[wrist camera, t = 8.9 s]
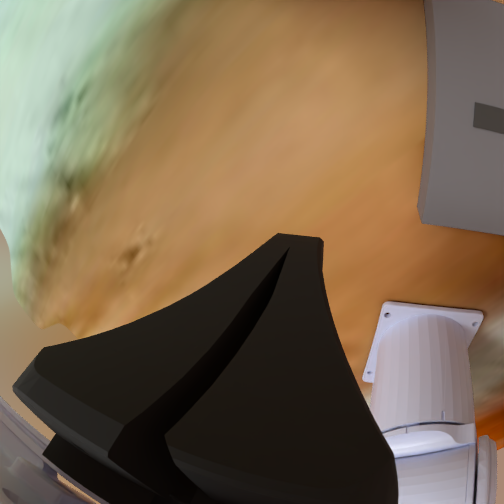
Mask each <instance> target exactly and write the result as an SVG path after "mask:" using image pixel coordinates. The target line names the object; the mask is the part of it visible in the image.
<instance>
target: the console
mask: <svg viewBox="0 0 504 504" xmlns="http://www.w3.org/2000/svg"><path fill="white" fill-rule="evenodd" d="M424 9H425V20H426V35H427V60H428V94H427V119H426V135H425V147H424V158H423V167H422V175H421V183H420V191H419V198H418V204H417V208H418V212H419V215H420V219H421V222H422V223H423V224H430V225H438V226H445V227H452V228H459V229H466V230H472V231H479V232H485V233H491V234H497V235H503V236H504V4H501V3H498V2H495V1H492V0H424Z"/></svg>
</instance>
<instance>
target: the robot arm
mask: <svg viewBox="0 0 504 504" xmlns="http://www.w3.org/2000/svg"><path fill="white" fill-rule="evenodd" d="M323 247H324V241H323V240H322V239H321V238H319V237H310V236H300V235H291V234H281V233H278V234H276V235H275V236H273V237H272V238H271V239H269V240H268V241H267V242H266V243H264V244H263V245H262V246H260V247H259V248H258V249H257V250H255V251H254V252H253V253H251V254H250V255H249V256H247V257H246V258H245V259H243V260H242V261H241V262H239V263H238V264H237V265H235V266H234V267H233V268H231V269H230V270H228V271H227V272H225V273H224V274H222V275H221V276H219V277H218V278H216V279H215V280H213V281H212V282H210V283H209V284H207V285H206V286H204V287H202V288H201V289H199V290H197V291H195V292H194V293H192V294H190V295H189V296H187V297H185V298H183V299H181V300H179V301H177V302H175V303H173V304H172V305H170V306H168V307H165V308H163V309H161V310H159V311H156V312H154V313H152V314H150V315H147V316H145V317H143V318H141V319H138V320H136V321H134V322H131V323H129V324H126V325H123V326H120V327H118V328H115V329H112V330H109V331H106V332H103V333H100V334H97V335H93V336H90V337H86V338H83V339H79V340H75V341H71V342H67V343H62V344H58V345H54V346H49V347H44V348H43V349H42V350H41V351H40V352H39V353H38V355H37V356H36V357H35V358H34V360H33V361H32V362H31V363H30V365H29V366H28V367H27V368H26V370H25V371H24V372H23V373H22V374H21V376H20V377H19V378H18V380H17V381H16V382H15V383H14V385H13V392H14V393H15V394H16V395H17V397H18V398H19V399H20V400H21V401H22V402H23V403H24V404H25V405H26V406H27V407H28V408H29V409H30V410H31V411H32V412H33V413H34V414H35V415H36V416H37V417H38V418H40V419H41V420H42V421H43V422H44V423H45V424H46V425H47V426H48V427H49V428H50V429H52V430H53V431H54V432H55V433H56V434H55V436H54V437H53V439H52V440H51V441H49V440H48V439H47V438H46V437H44V436H43V435H42V434H41V433H40V432H38V431H37V430H36V429H35V428H34V427H33V426H31V425H30V424H29V423H28V422H27V421H26V420H24V419H23V418H22V417H21V416H20V415H19V414H18V413H17V412H16V411H14V410H13V409H12V408H11V406H10V405H9V404H8V403H7V402H6V401H5V400H3V398H2V397H1V396H0V504H96V503H95V502H93V501H92V500H90V499H89V498H87V497H86V496H84V495H83V494H81V493H79V492H78V491H76V490H74V489H73V488H71V487H69V486H68V485H66V484H64V483H63V482H61V481H59V480H58V478H57V473H59V474H60V475H61V476H63V477H64V478H65V479H66V480H68V481H69V482H70V483H72V484H73V485H75V486H76V487H77V488H79V489H80V490H82V491H83V492H84V493H86V494H87V495H89V496H90V497H92V498H93V499H95V500H96V501H98V502H99V503H101V504H495V501H496V488H497V449H496V442H495V441H493V440H492V439H489V436H488V435H485V436H481V437H479V453H478V444H477V434H476V425H475V413H474V399H473V388H472V378H471V370H470V362H469V355H468V347H469V345H470V343H471V342H472V340H473V338H474V336H475V334H476V332H477V330H478V328H479V326H480V324H481V323H482V321H483V318H484V317H483V313H482V312H481V311H476V310H466V309H456V308H446V307H436V306H427V305H418V304H409V303H400V302H391V301H388V302H385V303H384V304H383V305H382V309H381V313H380V317H379V321H378V325H377V329H376V332H375V336H374V340H373V343H372V347H371V350H370V354H369V357H368V360H367V364H366V367H365V370H364V373H363V378H362V379H363V381H365V382H371V383H373V387H372V395H371V402H370V409H369V407H368V405H367V403H366V401H365V399H364V397H363V395H362V393H361V391H360V388H359V386H358V384H357V381H356V379H355V377H354V374H353V372H352V370H351V367H350V365H349V363H348V361H347V358H346V356H345V353H344V350H343V348H342V345H341V342H340V339H339V337H338V333H337V330H336V327H335V324H334V321H333V318H332V314H331V311H330V307H329V303H328V299H327V294H326V290H325V284H324V278H323V272H322V268H323ZM385 313H390V314H385ZM474 322H475V323H474Z"/></svg>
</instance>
